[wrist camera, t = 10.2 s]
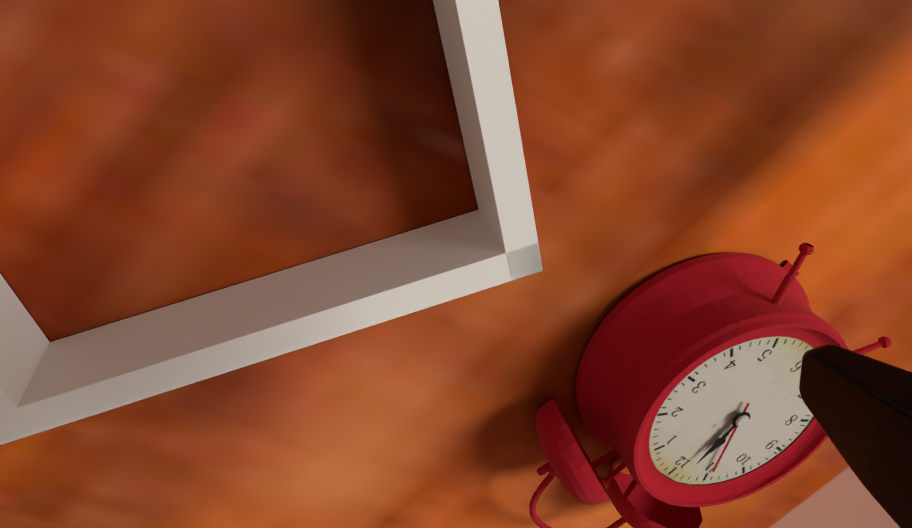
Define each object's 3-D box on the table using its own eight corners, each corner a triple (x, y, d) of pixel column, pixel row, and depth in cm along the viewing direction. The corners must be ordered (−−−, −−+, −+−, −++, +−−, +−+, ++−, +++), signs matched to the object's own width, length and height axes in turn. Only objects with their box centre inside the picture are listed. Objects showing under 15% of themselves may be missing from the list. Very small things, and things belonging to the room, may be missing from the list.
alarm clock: (927, 359, 25) (697, 657, 26) (794, 301, 31) (606, 548, 31) (812, 218, 20) (527, 592, 21) (677, 178, 26) (454, 475, 26)
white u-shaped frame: (35, 376, 20) (1, 444, 18) (-314, -79, 13) (-451, -71, 11) (512, 226, 22) (542, 270, 19) (421, -253, 15) (451, -282, 12)
